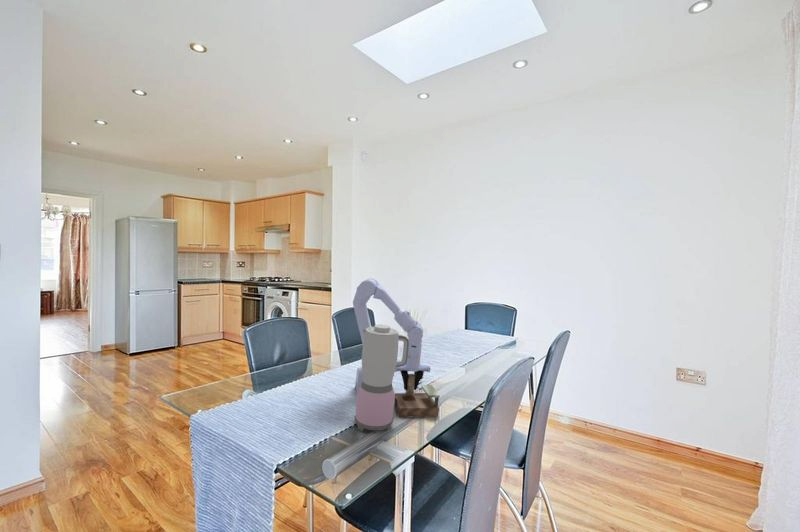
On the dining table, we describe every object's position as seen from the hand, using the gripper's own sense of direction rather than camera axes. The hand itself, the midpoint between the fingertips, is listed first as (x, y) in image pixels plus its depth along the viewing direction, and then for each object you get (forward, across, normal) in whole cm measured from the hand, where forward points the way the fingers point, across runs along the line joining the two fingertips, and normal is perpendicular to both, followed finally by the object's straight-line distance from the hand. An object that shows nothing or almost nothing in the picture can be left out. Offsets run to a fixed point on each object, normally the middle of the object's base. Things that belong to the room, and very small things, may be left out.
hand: (410, 389), depth 138 cm
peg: (+2, 0, 0) cm, 2 cm away
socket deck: (+2, -1, -11) cm, 11 cm away
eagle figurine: (+3, +6, +13) cm, 14 cm away
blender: (+3, -16, -21) cm, 27 cm away
